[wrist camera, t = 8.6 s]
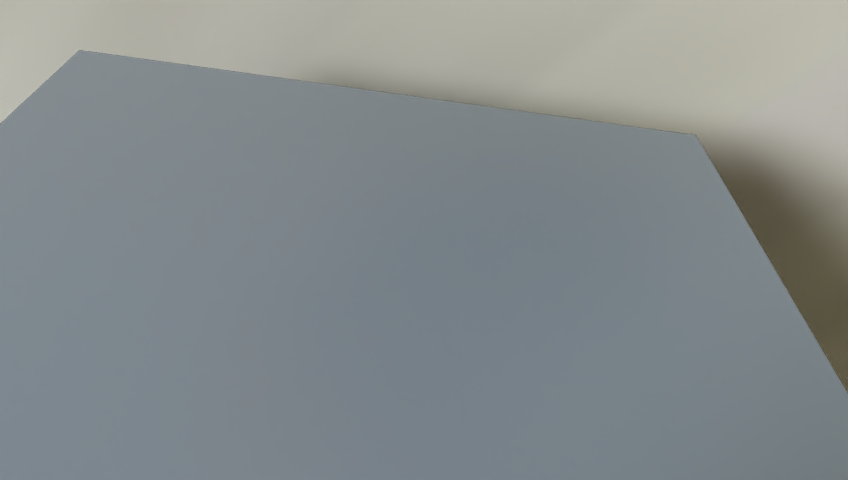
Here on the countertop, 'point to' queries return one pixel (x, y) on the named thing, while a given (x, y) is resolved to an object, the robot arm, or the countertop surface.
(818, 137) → the countertop surface
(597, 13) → the countertop surface
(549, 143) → the grey-blue cube
